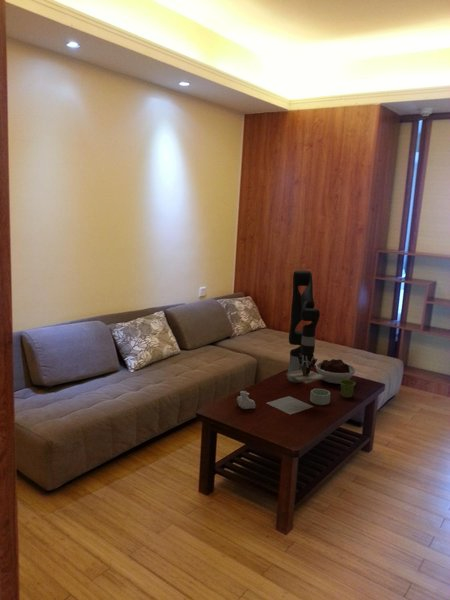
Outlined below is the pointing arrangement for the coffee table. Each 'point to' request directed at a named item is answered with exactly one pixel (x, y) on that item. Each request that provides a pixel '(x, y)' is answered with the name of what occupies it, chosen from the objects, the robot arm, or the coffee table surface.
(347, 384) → the plant pot
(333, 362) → the white round tub
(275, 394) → the coffee table surface
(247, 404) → the bust
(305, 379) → the cover board
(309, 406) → the tray
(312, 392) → the bowl
